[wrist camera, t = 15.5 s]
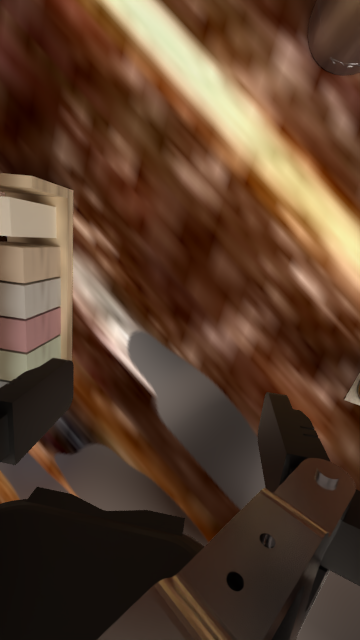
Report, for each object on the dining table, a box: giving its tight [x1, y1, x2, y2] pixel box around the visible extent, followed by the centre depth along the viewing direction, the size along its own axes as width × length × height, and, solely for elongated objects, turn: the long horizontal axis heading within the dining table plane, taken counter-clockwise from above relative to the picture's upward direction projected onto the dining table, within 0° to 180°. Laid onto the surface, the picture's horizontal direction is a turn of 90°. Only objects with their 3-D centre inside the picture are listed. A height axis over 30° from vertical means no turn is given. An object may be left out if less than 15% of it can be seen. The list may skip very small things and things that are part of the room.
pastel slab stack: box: [0, 173, 73, 388], centre depth 40 cm, size 9×30×10 cm, turn 174°
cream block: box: [0, 196, 57, 238], centre depth 36 cm, size 4×6×9 cm
